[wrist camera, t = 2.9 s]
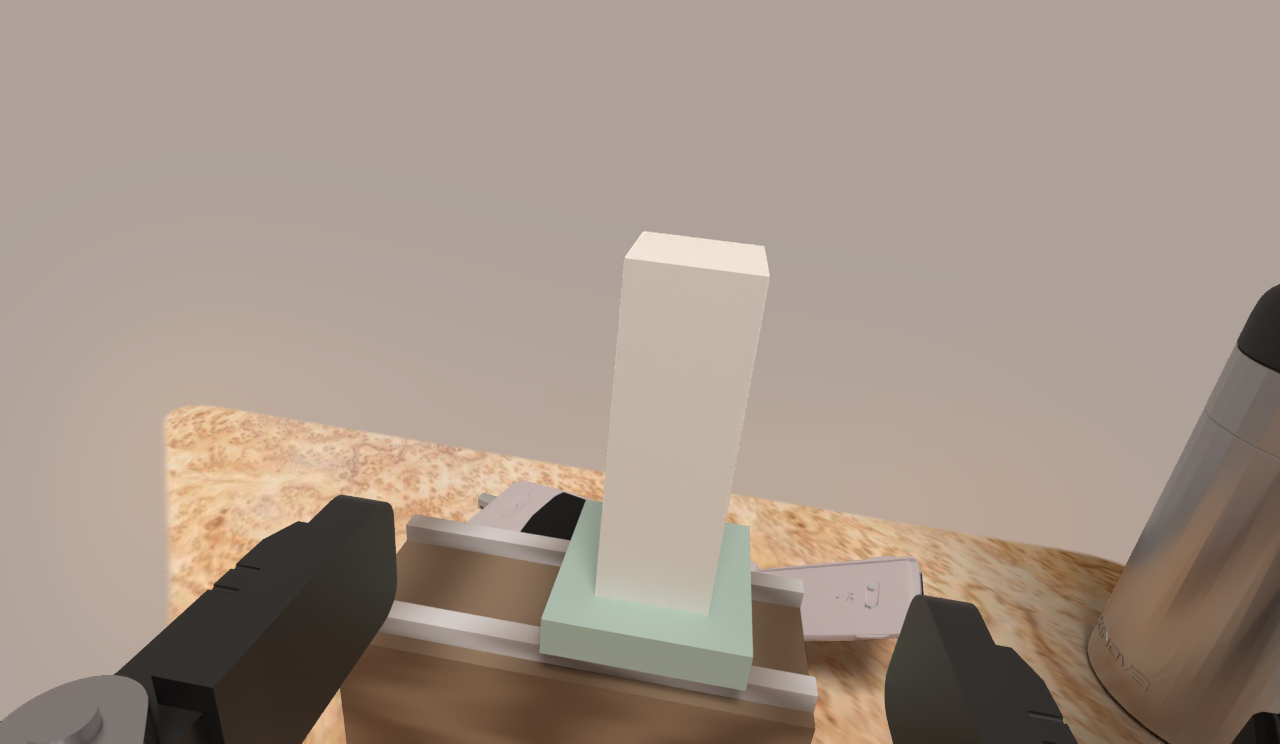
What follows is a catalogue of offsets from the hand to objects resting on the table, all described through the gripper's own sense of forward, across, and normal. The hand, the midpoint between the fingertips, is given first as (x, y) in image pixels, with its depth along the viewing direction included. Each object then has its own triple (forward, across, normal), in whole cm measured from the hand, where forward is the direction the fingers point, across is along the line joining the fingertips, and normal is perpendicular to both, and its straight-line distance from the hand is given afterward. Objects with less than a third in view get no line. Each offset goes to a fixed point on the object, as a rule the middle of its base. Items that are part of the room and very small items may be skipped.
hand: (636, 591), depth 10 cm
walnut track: (+12, +2, +18) cm, 21 cm away
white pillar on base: (+12, 0, +11) cm, 16 cm away
